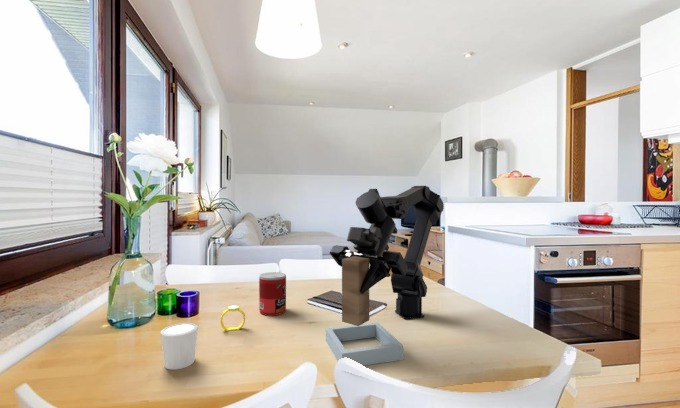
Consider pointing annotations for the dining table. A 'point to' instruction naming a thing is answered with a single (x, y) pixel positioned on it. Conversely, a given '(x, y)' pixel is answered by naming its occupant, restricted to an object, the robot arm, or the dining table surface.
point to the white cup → (179, 345)
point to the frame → (369, 355)
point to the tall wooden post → (354, 291)
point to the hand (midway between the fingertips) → (352, 290)
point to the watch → (232, 308)
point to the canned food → (272, 293)
